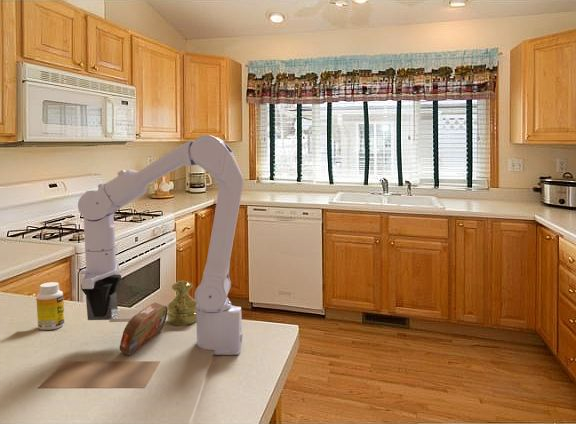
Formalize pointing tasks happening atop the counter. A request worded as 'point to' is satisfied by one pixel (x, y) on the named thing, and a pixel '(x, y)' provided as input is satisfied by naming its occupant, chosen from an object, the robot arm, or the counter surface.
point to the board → (101, 374)
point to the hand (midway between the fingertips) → (103, 313)
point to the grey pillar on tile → (113, 311)
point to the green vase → (182, 305)
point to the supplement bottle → (50, 306)
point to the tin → (143, 327)
